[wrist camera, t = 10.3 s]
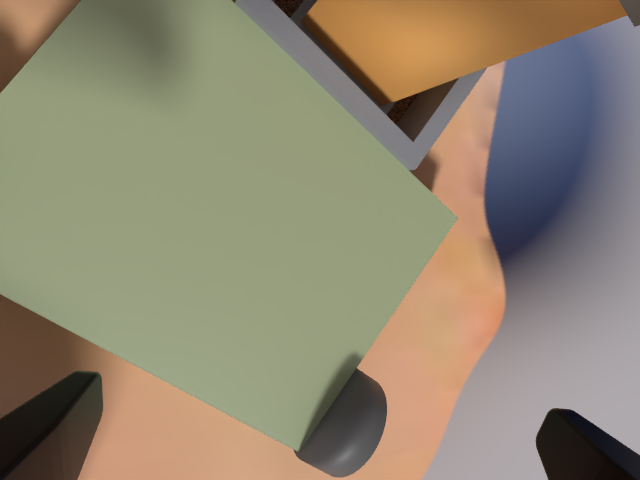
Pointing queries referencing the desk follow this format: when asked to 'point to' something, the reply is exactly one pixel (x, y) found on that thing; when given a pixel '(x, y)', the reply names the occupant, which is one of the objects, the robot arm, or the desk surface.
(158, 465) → the desk surface
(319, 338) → the green slab with frame
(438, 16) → the tan rectangular column
